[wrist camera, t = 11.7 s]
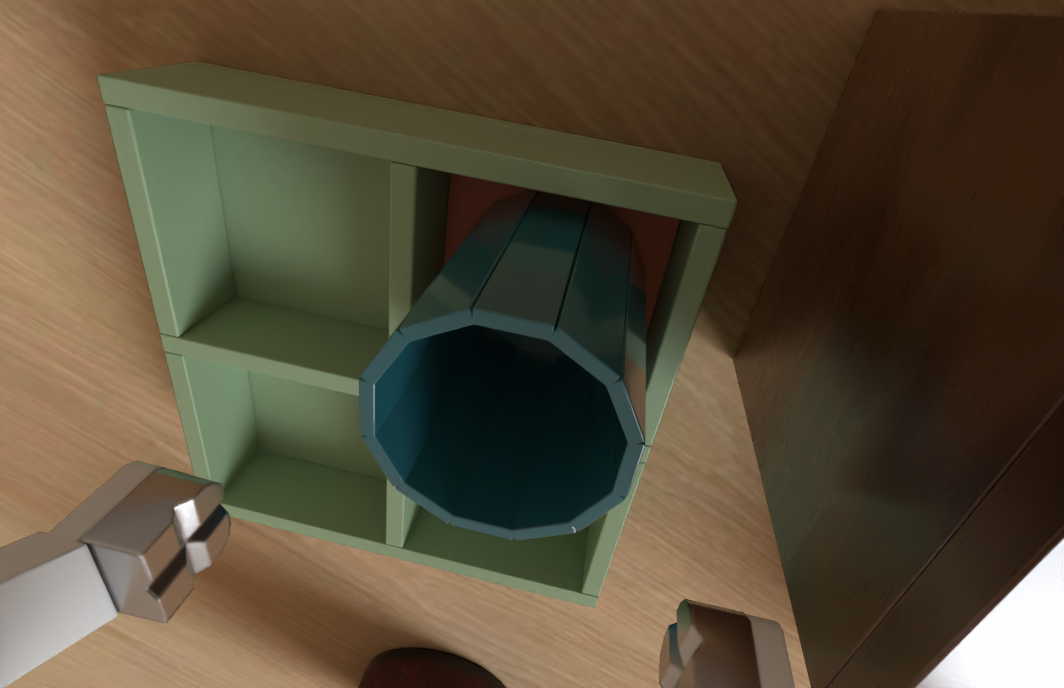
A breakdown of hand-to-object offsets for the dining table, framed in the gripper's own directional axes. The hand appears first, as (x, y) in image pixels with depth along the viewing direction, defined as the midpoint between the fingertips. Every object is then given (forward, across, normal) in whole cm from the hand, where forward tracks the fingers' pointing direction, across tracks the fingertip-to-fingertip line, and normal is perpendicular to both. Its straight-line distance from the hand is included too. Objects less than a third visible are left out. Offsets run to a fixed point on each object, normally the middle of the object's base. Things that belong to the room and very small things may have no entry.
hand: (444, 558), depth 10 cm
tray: (+14, +4, +5) cm, 15 cm away
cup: (+13, 0, 0) cm, 13 cm away
